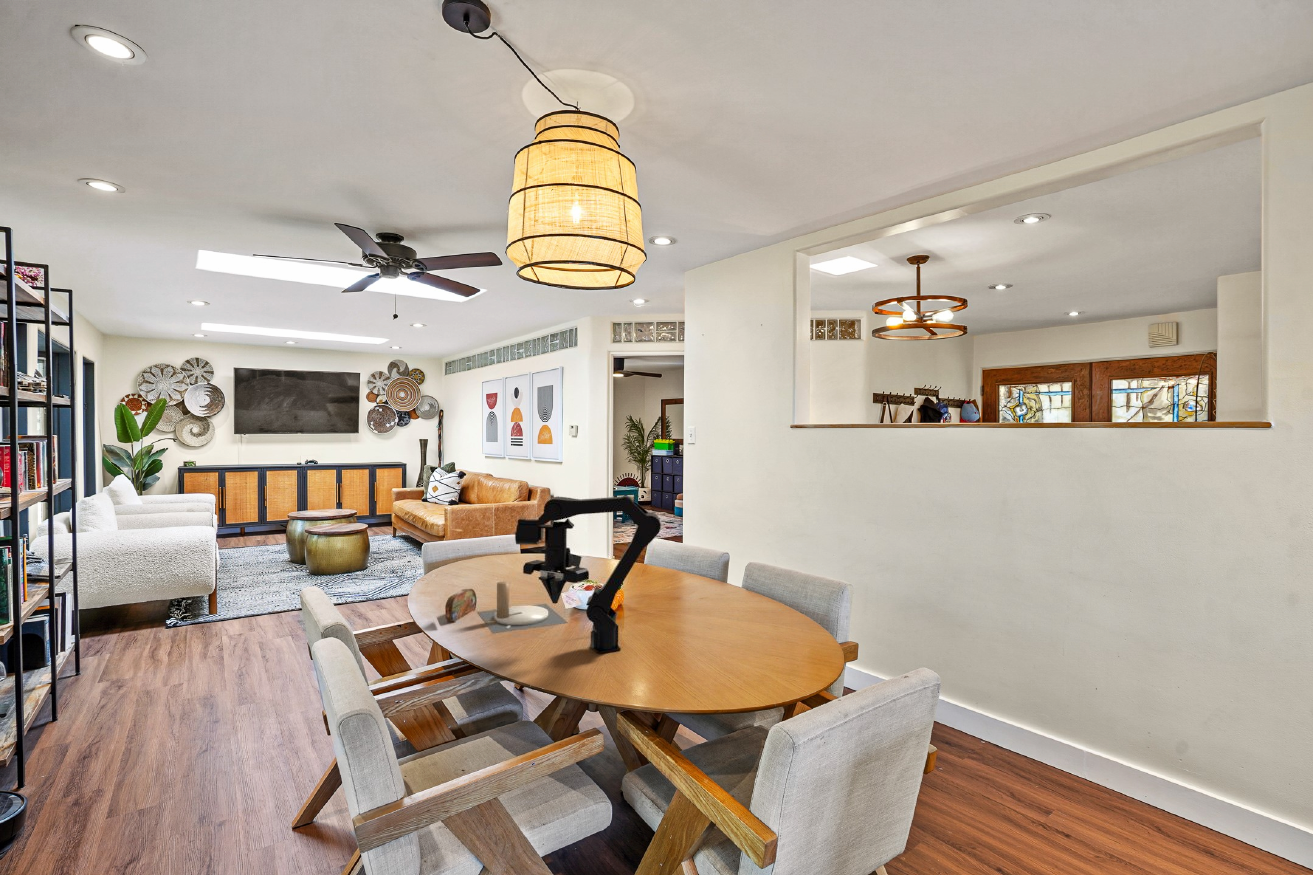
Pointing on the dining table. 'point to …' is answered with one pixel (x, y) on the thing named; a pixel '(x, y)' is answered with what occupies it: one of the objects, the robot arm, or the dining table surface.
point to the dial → (516, 610)
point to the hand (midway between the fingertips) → (555, 603)
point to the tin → (460, 604)
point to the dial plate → (497, 627)
